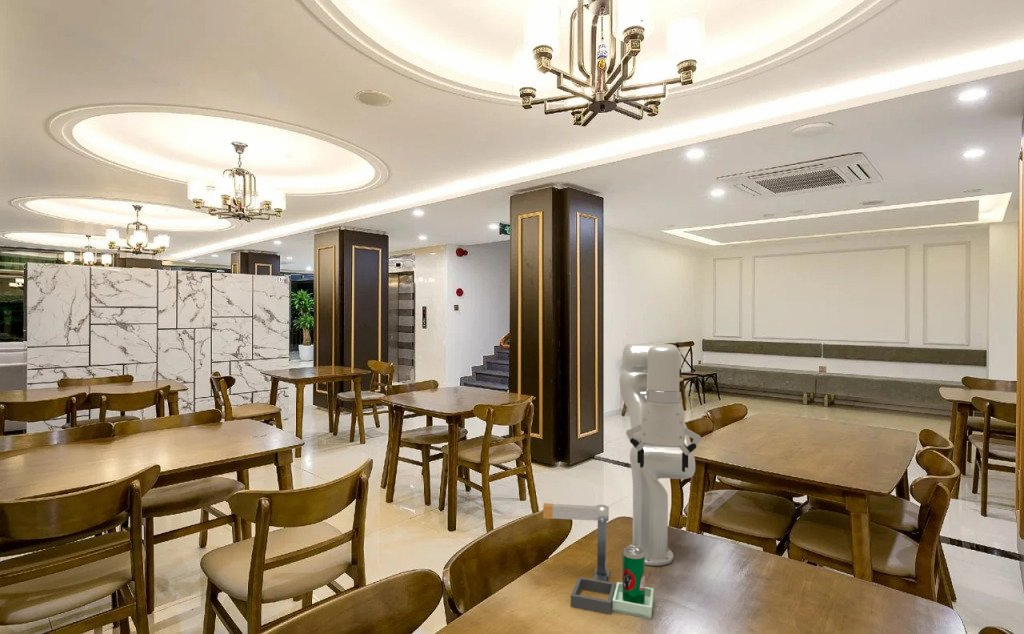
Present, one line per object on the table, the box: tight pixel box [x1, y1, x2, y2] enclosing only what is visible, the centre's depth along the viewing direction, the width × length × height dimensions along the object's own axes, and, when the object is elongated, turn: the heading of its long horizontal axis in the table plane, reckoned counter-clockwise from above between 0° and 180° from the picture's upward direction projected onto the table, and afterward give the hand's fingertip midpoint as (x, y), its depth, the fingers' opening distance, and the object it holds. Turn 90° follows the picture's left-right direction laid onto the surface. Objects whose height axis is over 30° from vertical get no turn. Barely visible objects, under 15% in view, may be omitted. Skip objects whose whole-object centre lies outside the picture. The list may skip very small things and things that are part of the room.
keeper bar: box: [542, 502, 610, 523], centre depth 130 cm, size 17×3×3 cm, turn 84°
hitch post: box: [592, 521, 611, 582], centre depth 127 cm, size 9×4×14 cm, turn 161°
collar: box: [570, 576, 617, 615], centre depth 118 cm, size 9×9×2 cm
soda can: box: [621, 545, 646, 605], centre depth 116 cm, size 5×5×12 cm
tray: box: [611, 581, 655, 620], centre depth 116 cm, size 8×8×2 cm
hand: (662, 468), depth 121 cm, fingers open, 9 cm apart
